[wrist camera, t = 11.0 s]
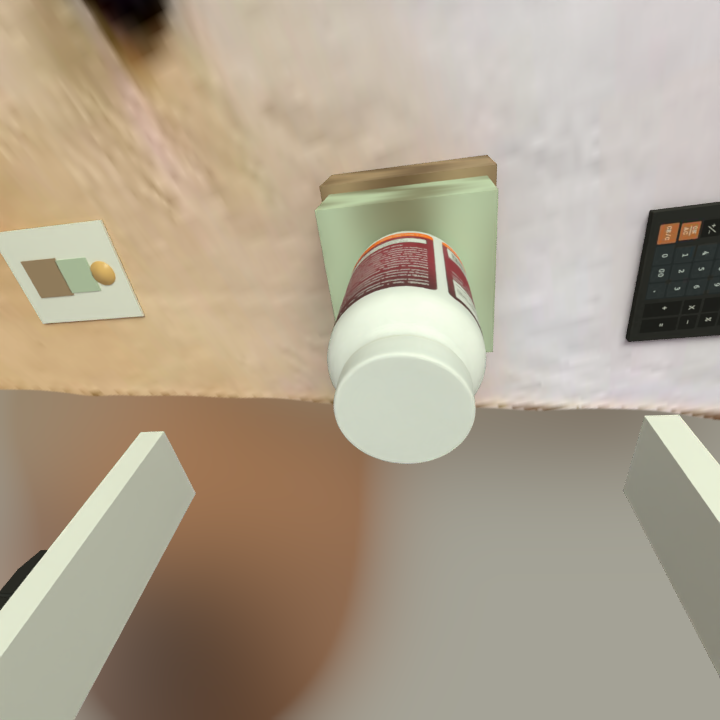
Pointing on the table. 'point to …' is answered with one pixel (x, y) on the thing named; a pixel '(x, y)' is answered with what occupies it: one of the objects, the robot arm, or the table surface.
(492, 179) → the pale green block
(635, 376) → the table surface
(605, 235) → the table surface
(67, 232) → the page
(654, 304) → the calculator
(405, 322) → the pill bottle
